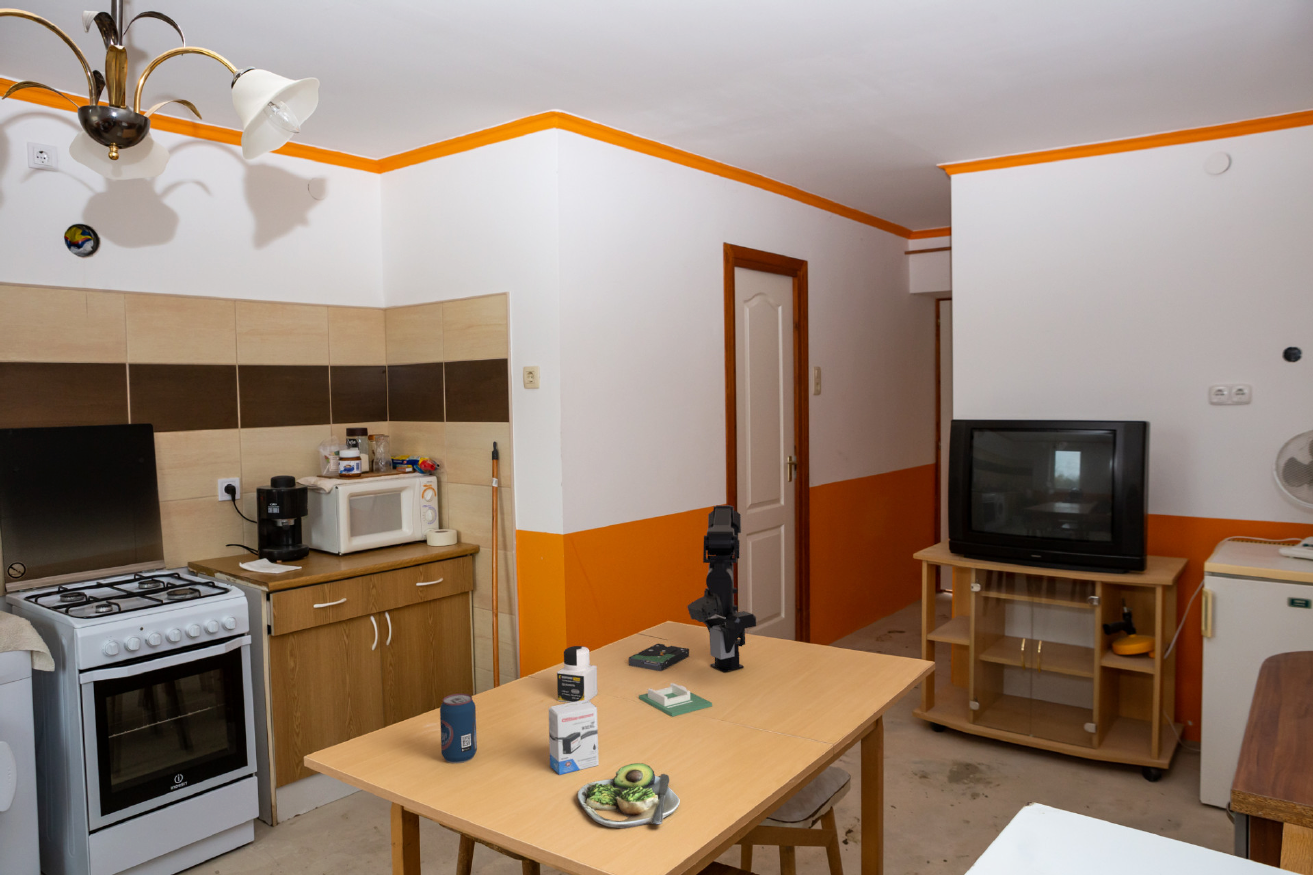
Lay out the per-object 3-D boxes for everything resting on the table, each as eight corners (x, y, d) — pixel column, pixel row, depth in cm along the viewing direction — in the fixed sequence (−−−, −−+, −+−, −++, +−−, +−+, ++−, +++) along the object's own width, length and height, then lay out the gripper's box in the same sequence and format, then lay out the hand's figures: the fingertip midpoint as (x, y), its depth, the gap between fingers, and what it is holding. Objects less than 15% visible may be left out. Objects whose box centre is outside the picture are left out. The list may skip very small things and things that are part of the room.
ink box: (558, 775, 166) (556, 714, 166) (549, 766, 171) (547, 706, 170) (599, 765, 170) (598, 706, 170) (589, 756, 175) (588, 698, 174)
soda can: (436, 756, 176) (433, 697, 176) (467, 747, 180) (466, 689, 180) (450, 767, 171) (448, 707, 170) (483, 758, 175) (481, 699, 174)
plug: (710, 655, 205) (709, 626, 205) (725, 651, 208) (725, 622, 207) (720, 659, 202) (720, 629, 202) (736, 655, 204) (735, 626, 204)
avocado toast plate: (703, 823, 148) (703, 797, 147) (602, 846, 141) (601, 818, 141) (661, 776, 166) (661, 753, 165) (569, 794, 159) (569, 769, 159)
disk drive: (657, 652, 244) (627, 667, 231) (657, 642, 244) (627, 656, 231) (689, 658, 239) (661, 673, 226) (689, 648, 238) (661, 662, 226)
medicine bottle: (557, 701, 206) (555, 650, 205) (571, 691, 213) (570, 642, 212) (584, 704, 203) (583, 653, 203) (597, 694, 210) (596, 645, 209)
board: (639, 698, 207) (638, 686, 206) (677, 688, 213) (677, 677, 212) (672, 716, 195) (671, 704, 195) (712, 706, 201) (711, 694, 201)
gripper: (669, 582, 207) (671, 647, 208) (717, 596, 192) (719, 667, 192) (707, 575, 213) (709, 639, 214) (757, 589, 198) (758, 657, 198)
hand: (722, 650), depth 205 cm, fingers closed on plug, 4 cm apart
